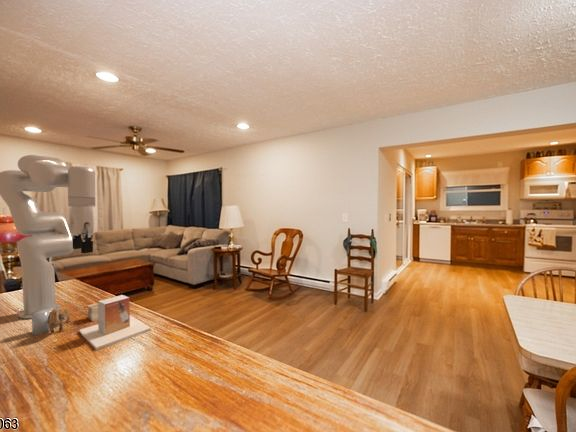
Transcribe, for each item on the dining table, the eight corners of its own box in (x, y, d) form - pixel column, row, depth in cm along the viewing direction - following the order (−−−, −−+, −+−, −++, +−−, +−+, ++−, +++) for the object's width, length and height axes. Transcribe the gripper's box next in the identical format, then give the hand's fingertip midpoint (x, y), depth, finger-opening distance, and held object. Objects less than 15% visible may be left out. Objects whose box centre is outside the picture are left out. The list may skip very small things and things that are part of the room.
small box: (104, 335, 86) (103, 304, 86) (98, 331, 89) (97, 300, 89) (130, 326, 93) (129, 297, 92) (123, 322, 96) (122, 294, 95)
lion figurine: (67, 334, 88) (66, 308, 88) (46, 339, 85) (45, 312, 85) (71, 319, 100) (70, 296, 100) (52, 323, 97) (51, 299, 97)
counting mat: (79, 332, 90) (79, 329, 90) (129, 316, 103) (129, 314, 103) (96, 350, 79) (96, 347, 79) (150, 330, 92) (150, 327, 92)
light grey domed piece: (31, 332, 90) (30, 312, 90) (48, 327, 94) (47, 308, 93) (33, 336, 87) (32, 315, 87) (51, 331, 91) (50, 311, 91)
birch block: (88, 318, 101) (87, 305, 101) (103, 313, 105) (102, 301, 105) (92, 321, 98) (91, 308, 98) (107, 317, 102) (107, 304, 102)
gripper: (61, 201, 93) (62, 248, 95) (76, 203, 83) (76, 256, 84) (87, 201, 99) (87, 246, 101) (103, 203, 89) (103, 253, 90)
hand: (82, 250), depth 92 cm, fingers open, 9 cm apart
